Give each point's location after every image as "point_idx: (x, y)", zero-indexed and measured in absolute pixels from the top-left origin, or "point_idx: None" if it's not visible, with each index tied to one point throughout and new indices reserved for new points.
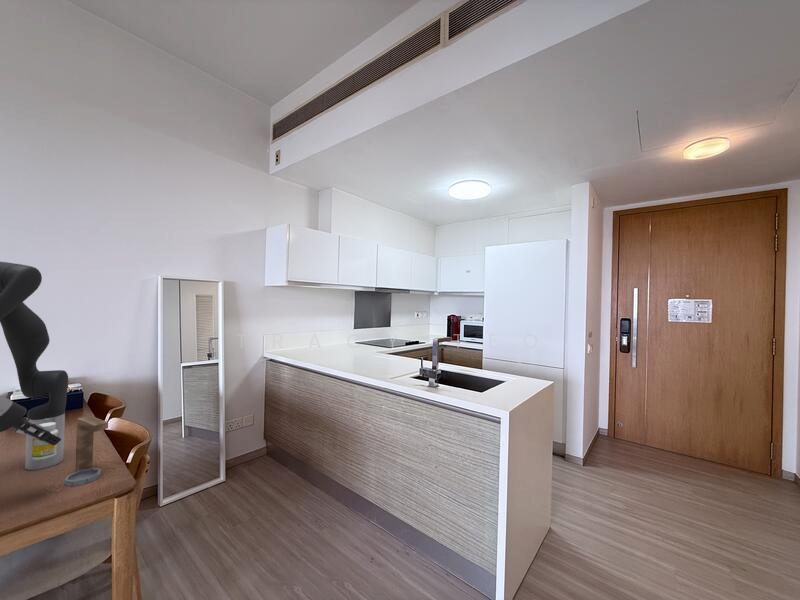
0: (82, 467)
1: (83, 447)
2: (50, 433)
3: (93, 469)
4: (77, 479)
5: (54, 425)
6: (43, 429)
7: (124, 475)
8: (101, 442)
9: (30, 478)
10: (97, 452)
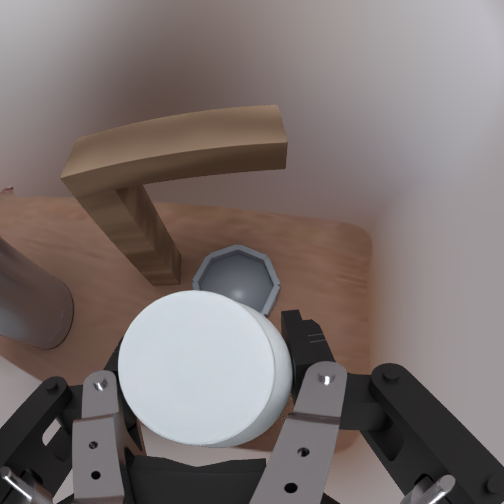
0: (176, 271)
1: (154, 238)
2: (397, 367)
3: (217, 256)
4: (236, 300)
5: (248, 313)
6: (451, 415)
7: (307, 219)
8: (49, 202)
9: (103, 366)
10: (89, 220)
